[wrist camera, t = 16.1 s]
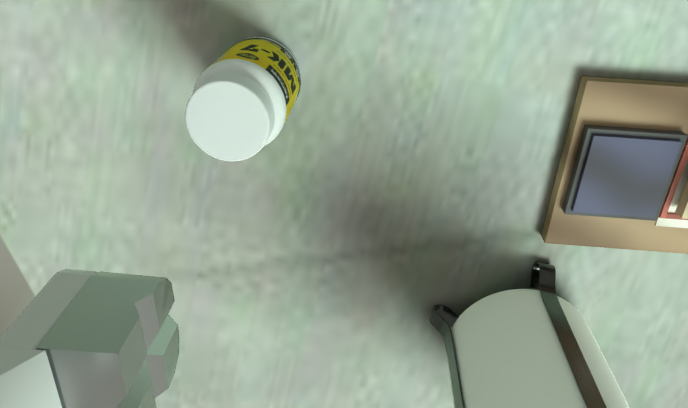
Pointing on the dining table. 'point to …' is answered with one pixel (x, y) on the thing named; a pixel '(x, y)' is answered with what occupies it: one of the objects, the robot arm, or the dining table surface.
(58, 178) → the dining table surface
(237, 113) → the supplement bottle
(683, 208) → the stamp
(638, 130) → the station board
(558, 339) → the coffee press
